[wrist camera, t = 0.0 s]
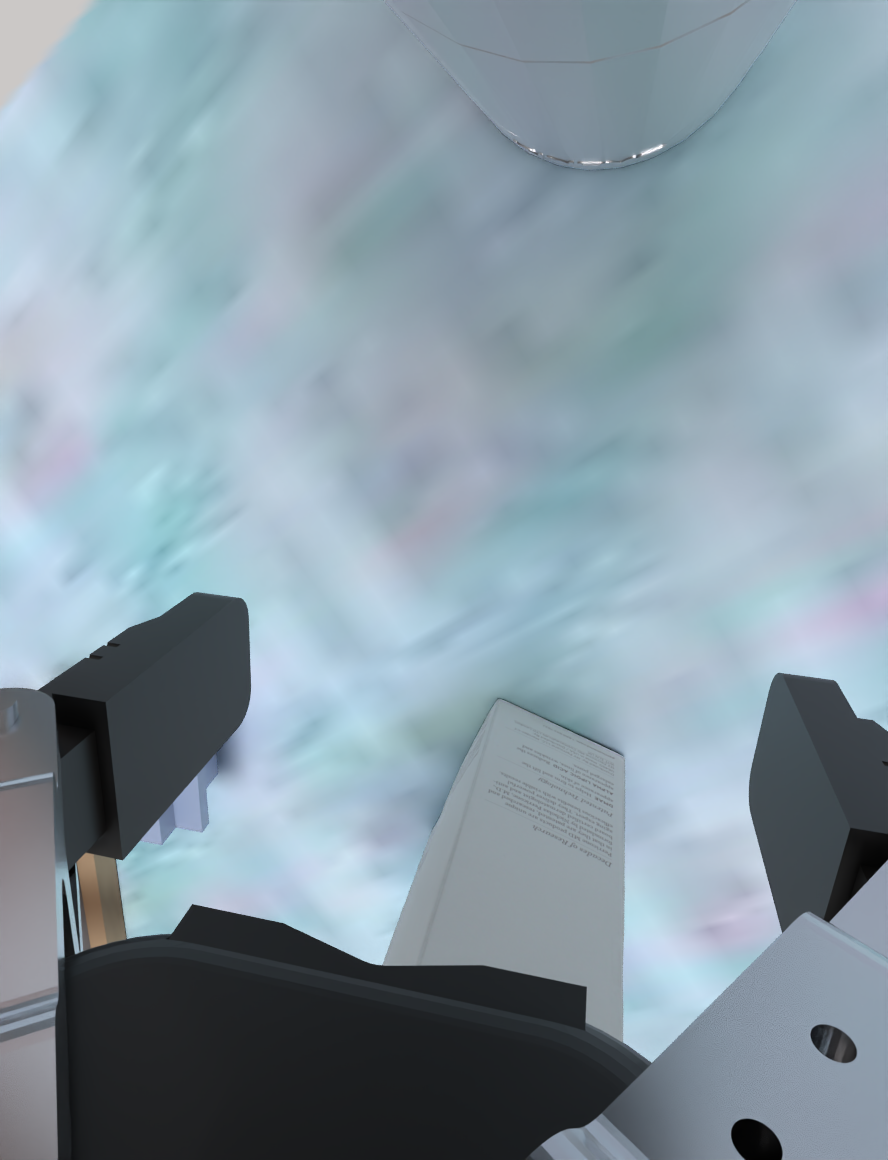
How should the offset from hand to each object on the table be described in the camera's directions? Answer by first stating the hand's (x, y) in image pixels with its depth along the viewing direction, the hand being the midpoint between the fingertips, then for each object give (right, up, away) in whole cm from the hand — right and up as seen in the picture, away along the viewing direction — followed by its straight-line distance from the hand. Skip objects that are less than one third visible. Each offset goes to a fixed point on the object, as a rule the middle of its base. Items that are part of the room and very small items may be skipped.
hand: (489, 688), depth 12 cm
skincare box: (+3, -7, +21) cm, 23 cm away
